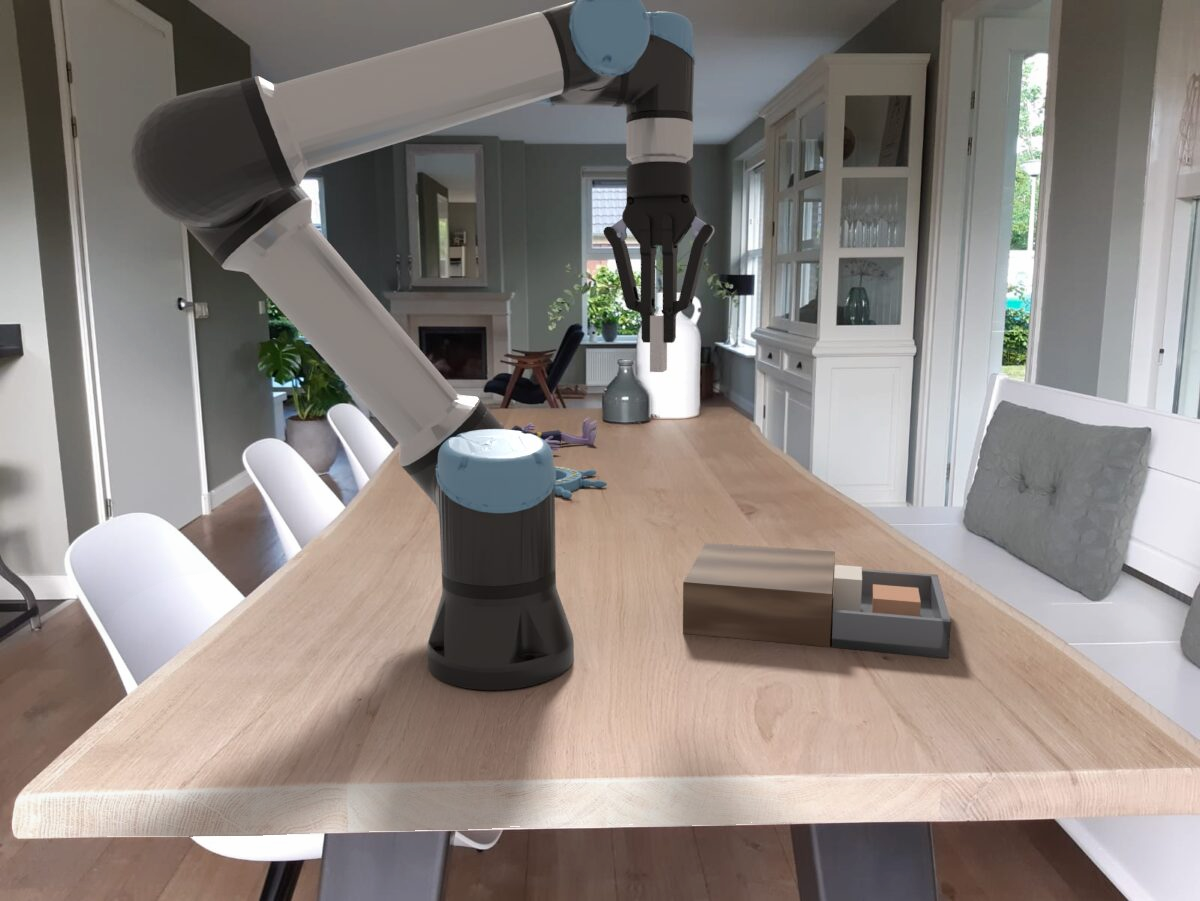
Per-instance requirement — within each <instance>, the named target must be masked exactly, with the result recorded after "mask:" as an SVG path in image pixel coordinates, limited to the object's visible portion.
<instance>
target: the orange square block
mask: <svg viewBox="0 0 1200 901" xmlns="http://www.w3.org/2000/svg"><path fill="white" fill-rule="evenodd" d="M920 606H921V601H920V595H919V590H918V588H913V587H901V586H888V585H876V584H873V590H872V613H882V614H894V615H906V616H918V617H920Z"/></svg>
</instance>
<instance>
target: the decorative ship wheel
mask: <svg viewBox="0 0 1200 901" xmlns="http://www.w3.org/2000/svg"><path fill="white" fill-rule="evenodd" d="M554 466H555V465H554ZM555 469H556V483H555V496H558V497H561V496H562V497H564V498H565V499H570V498H572V497H573V493H572V492H573V491H576V490H579V489H580V488H589V487H594V488H598V489H599V488H600V489H601V488H604V487H606V486H607V485H608V483H607V482H606V481H604V480H602V479H601V480H600V479H598V480H597V479H596V480H594V481H593V480H590V479H589V478H590V477H593V476H595V475H596V474H597V471H596V470H594V469H587V470H585V471H583V470H580V469H578V470H576V469H573V468H569V467H563V466H557V465H556V466H555ZM584 477H588V478H584Z"/></svg>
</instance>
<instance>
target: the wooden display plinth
mask: <svg viewBox="0 0 1200 901" xmlns="http://www.w3.org/2000/svg"><path fill="white" fill-rule="evenodd" d="M835 559H836V551H832V550H819V549H805V548H787V547H776V546H774V547H773V546H760V545H748V544H747V545H744V544H734V543H733V544H730V543H728V544H727V543H718V542H716V543H714V542H704V545H703V547H702V548H701V550H700V552H699V553H698V555H697V557H696V559H695V561H693V564H692V566H691V567H690V569H689V571H688V573H687V575H686V576H685V579H684V580H683V582H682V586H683V589H682V603H683V604H682V634H689V635H699V636H708V637H719V638H728V639H740V640H750V641H762V642H773V643H780V644H781V643H782V644H783V643H784V644H792V645H793V644H795V645H803V646H804V645H805V646H814V647H825V648H830V647H831V637H832V636H831V635H832V622H833V596H834V574H835V565H836V564H835Z"/></svg>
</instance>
